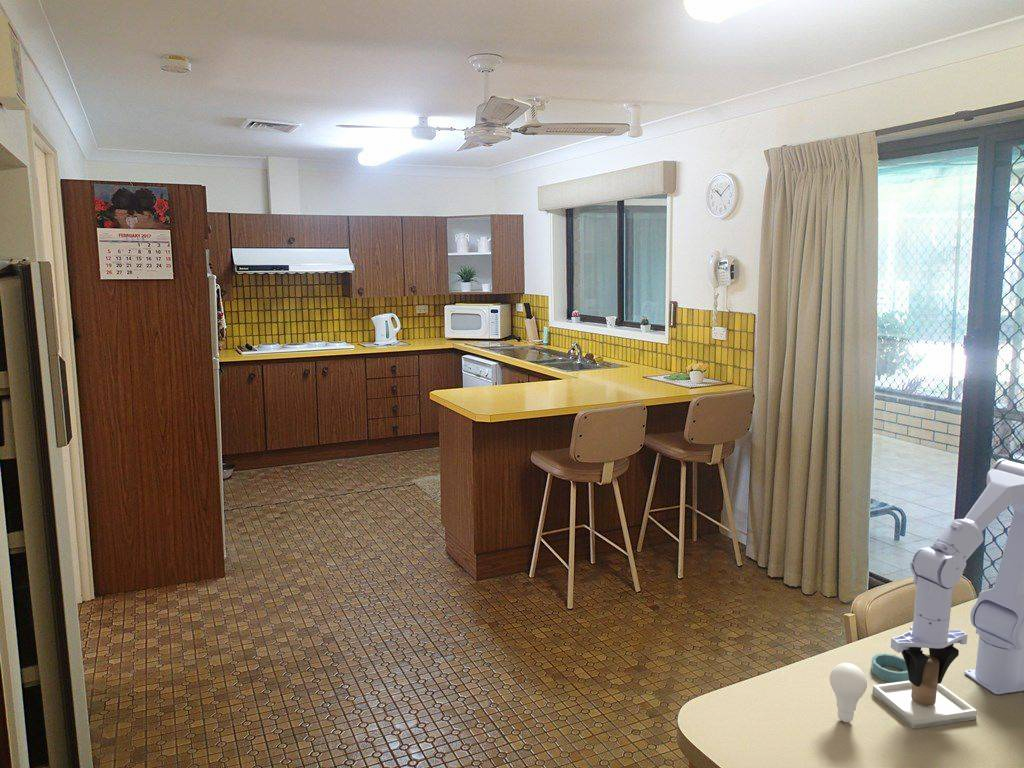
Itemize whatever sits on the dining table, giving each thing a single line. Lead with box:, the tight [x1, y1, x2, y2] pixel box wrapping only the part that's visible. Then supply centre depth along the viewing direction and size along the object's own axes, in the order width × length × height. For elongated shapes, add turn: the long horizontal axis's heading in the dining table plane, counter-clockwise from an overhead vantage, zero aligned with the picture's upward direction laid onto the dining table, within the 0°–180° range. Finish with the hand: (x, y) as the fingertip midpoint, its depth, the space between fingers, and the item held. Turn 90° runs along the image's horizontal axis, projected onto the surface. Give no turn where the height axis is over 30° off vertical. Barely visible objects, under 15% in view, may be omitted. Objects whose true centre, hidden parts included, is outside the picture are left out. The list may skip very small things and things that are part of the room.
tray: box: [871, 681, 978, 730], centre depth 141 cm, size 13×11×2 cm
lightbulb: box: [829, 662, 868, 723], centre depth 135 cm, size 6×6×11 cm
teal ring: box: [870, 653, 909, 683], centre depth 152 cm, size 7×7×2 cm
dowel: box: [911, 653, 940, 705], centre depth 140 cm, size 4×4×8 cm
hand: (925, 682), depth 140 cm, fingers closed on dowel, 4 cm apart
